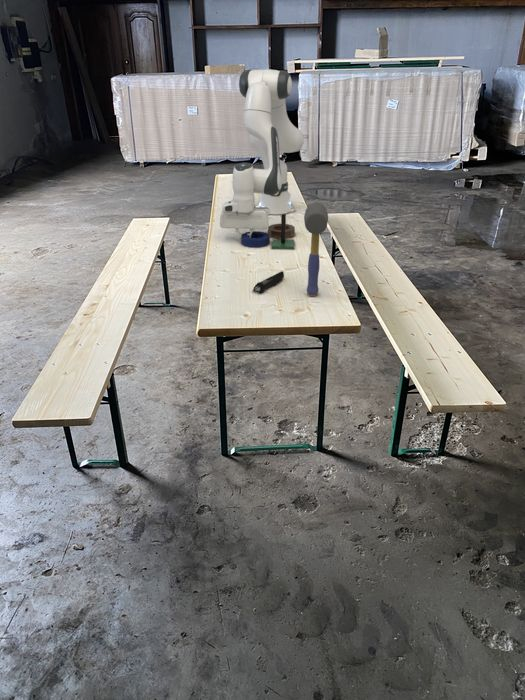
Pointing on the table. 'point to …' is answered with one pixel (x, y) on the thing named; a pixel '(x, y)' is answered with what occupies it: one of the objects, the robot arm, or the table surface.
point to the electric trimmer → (268, 282)
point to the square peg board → (283, 237)
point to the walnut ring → (276, 231)
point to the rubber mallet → (314, 242)
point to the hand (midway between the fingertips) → (244, 238)
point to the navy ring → (255, 239)
